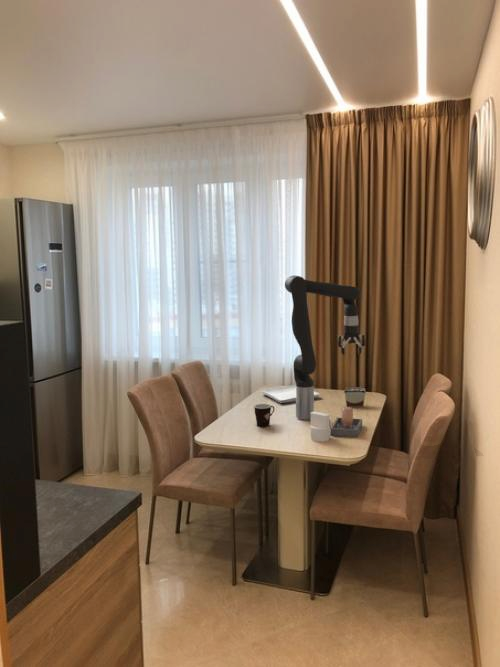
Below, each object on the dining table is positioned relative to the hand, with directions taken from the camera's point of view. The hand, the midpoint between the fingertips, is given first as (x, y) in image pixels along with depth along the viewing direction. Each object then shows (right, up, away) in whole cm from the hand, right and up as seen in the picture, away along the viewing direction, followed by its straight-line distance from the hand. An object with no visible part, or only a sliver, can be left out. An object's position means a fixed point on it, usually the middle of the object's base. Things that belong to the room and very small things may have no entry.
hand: (351, 354), depth 292 cm
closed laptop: (-30, -28, +41) cm, 58 cm away
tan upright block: (-7, -35, -25) cm, 44 cm away
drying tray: (-7, -36, -25) cm, 44 cm away
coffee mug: (-46, -36, -11) cm, 59 cm away
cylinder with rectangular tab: (-21, -38, -35) cm, 56 cm away
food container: (+5, -30, +18) cm, 35 cm away
